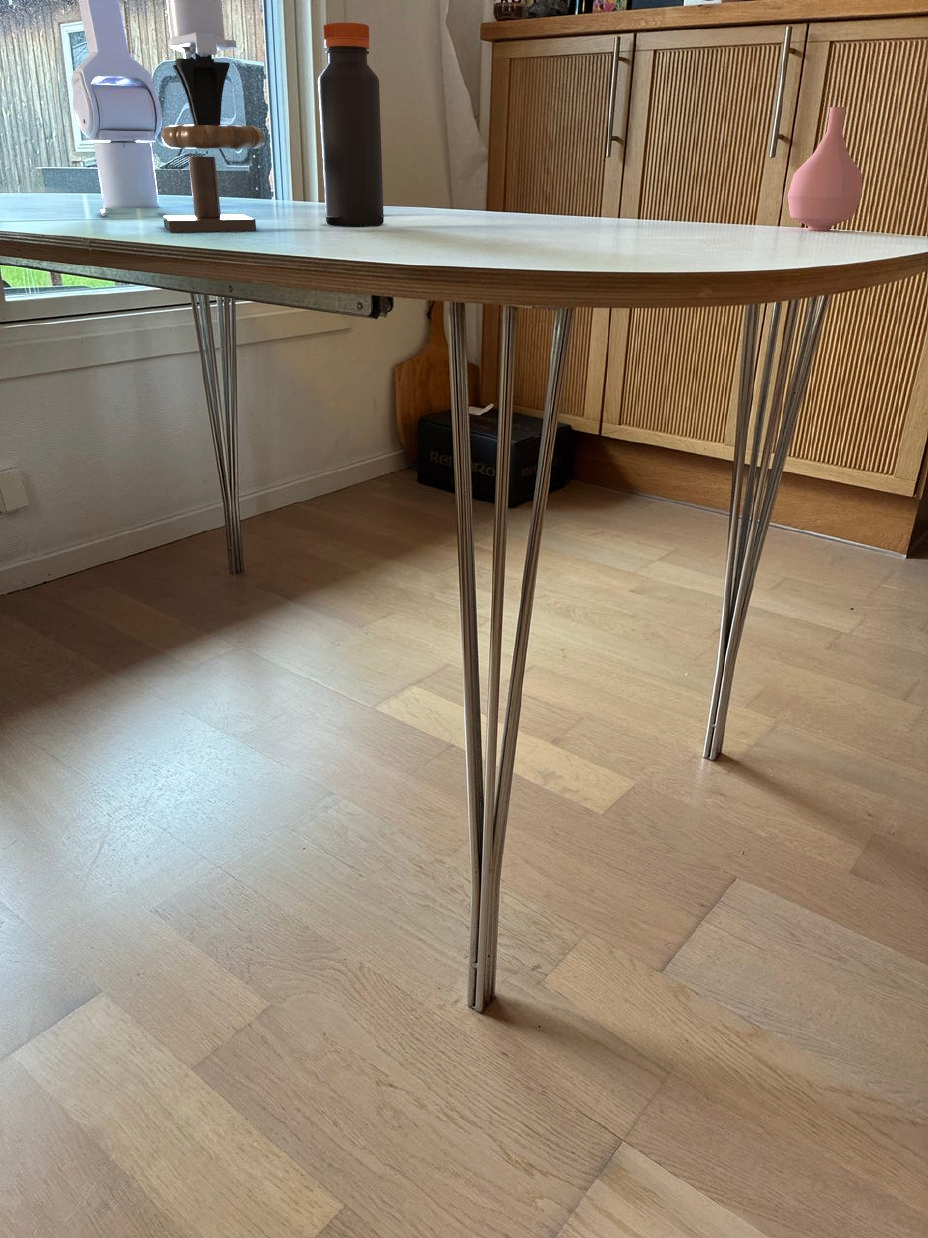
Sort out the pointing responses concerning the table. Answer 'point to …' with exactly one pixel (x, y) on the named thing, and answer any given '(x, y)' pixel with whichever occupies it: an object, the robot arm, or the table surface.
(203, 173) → the wooden peg stand
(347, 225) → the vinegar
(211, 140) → the scalloped wooden ring
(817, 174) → the pink vase
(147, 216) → the table surface
